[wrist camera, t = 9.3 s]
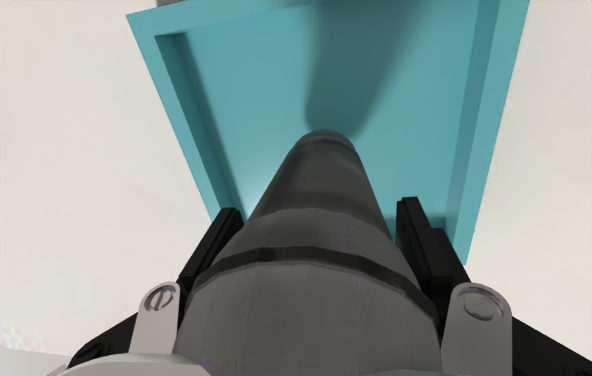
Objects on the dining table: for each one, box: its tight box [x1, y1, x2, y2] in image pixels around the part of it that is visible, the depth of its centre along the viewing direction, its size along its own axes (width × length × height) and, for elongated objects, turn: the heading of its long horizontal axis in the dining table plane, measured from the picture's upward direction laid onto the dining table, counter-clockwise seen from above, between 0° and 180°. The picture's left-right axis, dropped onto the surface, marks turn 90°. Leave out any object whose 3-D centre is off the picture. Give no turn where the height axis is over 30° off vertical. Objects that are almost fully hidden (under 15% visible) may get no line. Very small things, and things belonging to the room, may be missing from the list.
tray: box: [126, 0, 530, 265], centre depth 19 cm, size 20×20×3 cm
